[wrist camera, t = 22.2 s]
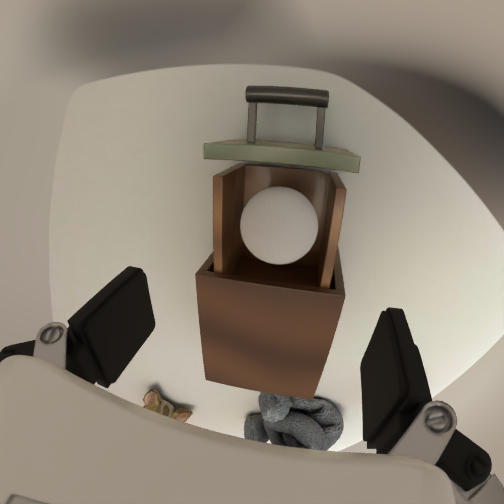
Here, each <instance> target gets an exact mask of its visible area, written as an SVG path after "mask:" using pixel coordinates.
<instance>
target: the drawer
mask: <svg viewBox="0 0 504 504" xmlns="http://www.w3.org/2000/svg"><path fill="white" fill-rule="evenodd" d="M328 99H329V92H328V91H326V90H318V89H308V88H296V87H279V86H247V88H246V101H247V102H248V103H249V109H248V132H247V140H238V139H233V140H226V141H219V142H212V143H205V144H204V159H218V160H240V161H256V162H269V163H281V164H291V165H300V166H309V167H318V168H325V169H333V170H340V171H347V172H353V173H359V166H360V157H359V156H357V155H355V154H354V153H352V152H350V151H348V150H346V149H339V148H332V147H324V146H323V134H324V120H325V108H327V107H328ZM257 103H273V104H289V105H302V106H312V107H318V108H317V125H316V139H315V145H307V144H298V143H287V142H275V141H259V140H256V121H257ZM280 186H281V187H288V188H291V189H294V190H296V191H298V192H300V193H301V194H303V195H304V196H305V197H306V198H307V199H308V200H309V201H310V203H311V204H312V206H313V207H314V209H315V212H316V215H317V219H318V232H317V236H316V239H315V242H314V244H313V246H312V247H311V249H310V250H309V251H308V252H307V253H306V254H305V255H304V256H303V257H301V258H300V259H298V260H296V261H294V262H291V263H288V264H271V263H268V262H265V261H263V260H260V259H259V258H257V257H256V256H255V255H253V254H252V253H251V252H250V250H249V249H248V248H247V246H246V245H245V243H244V241H243V238H242V235H241V229H240V221H241V216H242V212H243V210H244V208H245V206H246V204H247V203H248V201H249V200H250V199H251V198H252V197H253V196H254V195H256V194H257V193H258V192H260V191H262V190H264V189H267V188H270V187H280ZM345 196H346V188H345V186H344V184H343V183H342V181H341V179H340V177H339V176H338V174H337V173H331V172H324V171H316V170H307V169H298V168H289V167H278V166H267V165H254V164H238V165H235V166H233V167H231V168H229V169H227V170H225V171H223V172H220V173H218V174H216V175H214V176H213V249H214V272H215V273H222V274H228V275H235V276H241V277H248V278H255V279H261V280H268V281H275V282H282V283H289V284H297V285H304V286H311V287H319V288H327V289H329V287H330V282H331V277H332V272H333V267H334V262H335V257H336V252H337V246H338V241H339V235H340V229H341V223H342V217H343V210H344V203H345Z"/></svg>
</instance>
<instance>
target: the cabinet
mask: <svg viewBox="0 0 504 504" xmlns="http://www.w3.org/2000/svg"><path fill="white" fill-rule="evenodd" d="M195 275H196V289H197V302H198V314H199V325H200V335H201V344H202V354H203V362H204V371H205V378H206V380H209V381H213V382H217V383H221V384H225V385H230V386H235V387H239V388H244V389H249V390H255V391H260V392H266V393H272V394H278V395H285V396H292V397H299V398H308V399H313V397H314V394H315V391H316V389H317V386H318V383H319V380H320V378H321V375H322V372H323V369H324V366H325V363H326V360H327V357H328V354H329V351H330V348H331V344H332V341H333V338H334V335H335V331H336V328H337V325H338V321H339V318H340V314H341V310H342V307H343V303H344V299H345V290H344V282H343V275H342V269H341V262H340V256H339V250H338V246H337V252H336V257H335V262H334V267H333V272H332V277H331V282H330V287H329V289H327V288H319V287H311V286H304V285H297V284H289V283H282V282H275V281H268V280H261V279H255V278H248V277H241V276H235V275H228V274H222V273H215V272H214V251H213V253H212V254H211V255H210V256H209V258H208V259H207V260H206V261H205V263H204V264H203V265H202V266H201V268H200V269H199V270H198V271H197V273H196V274H195Z"/></svg>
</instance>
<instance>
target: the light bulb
mask: <svg viewBox="0 0 504 504" xmlns="http://www.w3.org/2000/svg"><path fill="white" fill-rule="evenodd" d="M240 229H241V235H242V238H243V241H244V243H245V245H246V246H247V248H248V249H249V250H250V252H251V253H252V254H253V255H255V256H256V257H257V258H259V259H260V260H263V261H265V262H268V263H271V264H288V263H291V262H294V261H296V260H298V259H300V258H301V257H303V256H304V255H305V254H306V253H307V252H308V251H309V250H310V249H311V247H312V246H313V244H314V242H315V239H316V236H317V232H318V219H317V215H316V212H315V209H314V207H313V206H312V204H311V203H310V201H309V200H308V199H307V198H306V197H305V196H304V195H303V194H301V193H300V192H298V191H296V190H294V189H291V188H288V187H281V186H280V187H270V188H267V189H264V190H262V191H260V192H258V193H257V194H256V195H254V196H253V197H252V198H251V199H250V200H249V201H248V203H247V204H246V206H245V208H244V210H243V212H242V216H241V221H240Z"/></svg>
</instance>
